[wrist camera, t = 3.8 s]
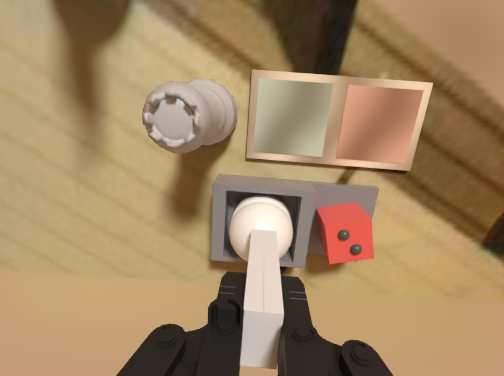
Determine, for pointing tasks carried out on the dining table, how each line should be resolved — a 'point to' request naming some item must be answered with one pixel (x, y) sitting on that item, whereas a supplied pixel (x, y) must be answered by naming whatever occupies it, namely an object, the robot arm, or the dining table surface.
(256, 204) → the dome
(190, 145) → the rook chess piece
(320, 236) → the grey compartment tray
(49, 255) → the dining table surface
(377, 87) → the wooden double picture frame
